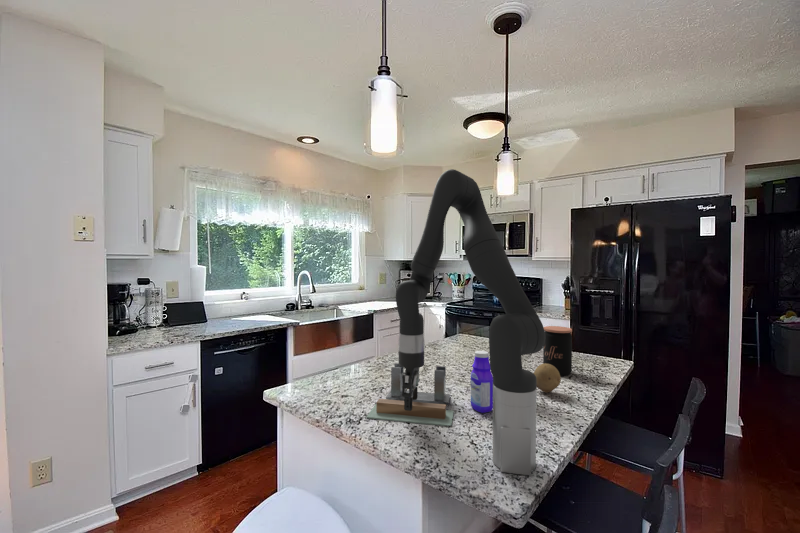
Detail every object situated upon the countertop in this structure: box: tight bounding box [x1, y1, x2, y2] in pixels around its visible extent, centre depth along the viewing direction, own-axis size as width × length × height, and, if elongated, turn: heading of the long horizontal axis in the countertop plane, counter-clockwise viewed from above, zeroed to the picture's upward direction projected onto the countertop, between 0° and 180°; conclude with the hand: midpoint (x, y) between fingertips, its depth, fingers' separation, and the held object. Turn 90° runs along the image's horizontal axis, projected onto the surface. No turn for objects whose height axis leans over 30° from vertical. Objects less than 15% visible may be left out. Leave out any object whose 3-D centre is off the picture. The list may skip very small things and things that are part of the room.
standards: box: [385, 362, 451, 406], centre depth 120 cm, size 7×20×10 cm, turn 78°
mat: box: [366, 403, 455, 427], centre depth 108 cm, size 10×24×1 cm, turn 78°
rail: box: [376, 398, 447, 419], centre depth 108 cm, size 3×20×3 cm, turn 77°
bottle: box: [470, 350, 493, 414], centre depth 112 cm, size 7×6×17 cm
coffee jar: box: [542, 325, 573, 377], centre depth 150 cm, size 11×11×18 cm
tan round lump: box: [533, 363, 561, 394], centre depth 126 cm, size 9×9×10 cm
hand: (411, 404), depth 108 cm, fingers open, 8 cm apart
